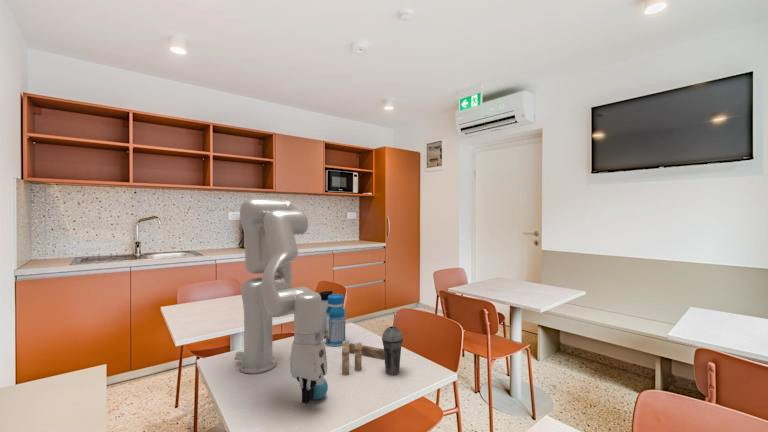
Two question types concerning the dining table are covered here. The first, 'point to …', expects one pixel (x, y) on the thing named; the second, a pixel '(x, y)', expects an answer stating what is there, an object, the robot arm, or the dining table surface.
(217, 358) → the dining table surface
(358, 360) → the pin
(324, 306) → the travel mug
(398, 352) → the beverage cup
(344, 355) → the pin front
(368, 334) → the dining table surface
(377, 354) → the back rail
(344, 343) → the pin
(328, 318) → the beverage bottle
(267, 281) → the robot arm
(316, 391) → the ball
